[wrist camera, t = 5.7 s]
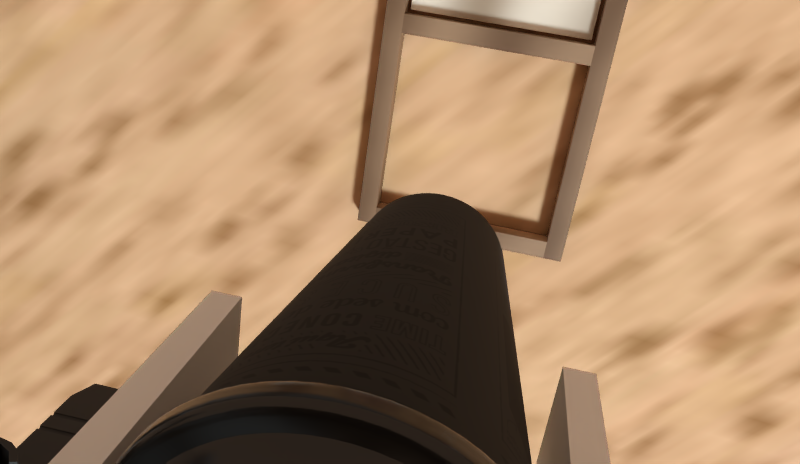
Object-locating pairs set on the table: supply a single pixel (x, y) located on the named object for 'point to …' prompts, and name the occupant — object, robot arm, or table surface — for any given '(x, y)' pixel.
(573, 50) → the brown multi-panel picture frame
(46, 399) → the table surface
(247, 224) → the table surface
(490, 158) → the table surface
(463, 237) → the drinking cup
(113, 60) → the table surface
